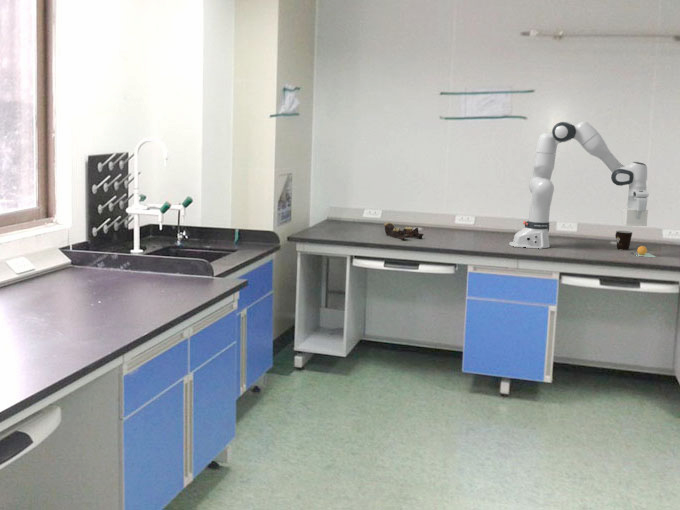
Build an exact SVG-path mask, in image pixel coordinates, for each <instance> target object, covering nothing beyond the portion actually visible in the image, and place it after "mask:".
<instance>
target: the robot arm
mask: <svg viewBox="0 0 680 510" xmlns="http://www.w3.org/2000/svg"><path fill="white" fill-rule="evenodd" d="M573 139H574V140H576V142H577V143H579V145H580V146H581V147H582V148H583V149H584V150H585V151H586V152H587V153H588V154H589V155H591V156H593V157H595V158H597V159H600V160H601V161H602V162H603V163H604V164H605V166H606V167H607V168H608V170H610V172H611V174H610V175H611V177H610V178H611V181H612V183H613V184H614V185H616V186H617V187H618V186H621V187H622V186H625V185H626V186H627V185H628V195H627V203H626V206H627V208H631V209H634V210H637V215H636V219H640V216H641V213H642V211H645V210H647V205H648V198H649V192H648V191H647V181H648V167H647V164H645V163H643V162H639V161H632V162H631V163H629V164H627V165H623V164H621V162H620V161H619V160H618V158H616V156H615V155H614V154H613V153H612V152H611V150H610V149H609V148H608V146H607V145H608V144H607V143H606V141H605V140H604V138H603V137H602V135H601V133H600V132H598V130H597V129H596V128H595V127H594V126H593V125H592V124H590V123H589V122H588V121H583V120H582V121H581V122H580V121H579V122H578V123H577V124H572V123H570V122H568V121H560V122H557V123H556V124H555V125H554V126H553V128H552V130H551V132H544V133H541V134H540V135H539V137H538V140H537V143H536V146H535V147H536V148H535V154H534V161H533V167H532V172H531V176H530V181H529V185H528V189H529V191H530V193H531V194H532V197H531V201H530V202H531V203H530V205H529V214H528V220H527V221H525V220H523V222H522V224H523V225H524V227H523V228H521V229H520V230H519V231H517V232H516V233H515V234H514V236H513V241H509V243H508V244H509V246H510V247H513V246H514V247H515V248H523V247H526V249H538V248H539V249H541V250H542V249H546V248H550V247H551V246H550V241H549V231H550V210H551V206H552V205H551V204H552V199H553V195H554V192H555V188H554V187H555V186H554V184H553V182H552V181H551V178H552V175H553V171H554V170H555V169H554V168H555V164H556V163H555V161H556V156H557V155H556V154H557V147H558V144H560V143H566V142H568V141H571V140H573Z"/></svg>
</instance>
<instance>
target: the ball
mask: <svg viewBox="0 0 680 510" xmlns="http://www.w3.org/2000/svg"><path fill="white" fill-rule="evenodd" d="M647 252H648V249H647V247H646V246H644V245H641V246H638V248H637V251H636V253H638V254H640V255H645V254H646V253H647Z"/></svg>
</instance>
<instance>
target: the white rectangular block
mask: <svg viewBox="0 0 680 510" xmlns="http://www.w3.org/2000/svg"><path fill="white" fill-rule="evenodd" d="M648 213H649V210H648V209H646V210H645V211H642V213H641V216H640V219H636V215H637V210H634V209H631V208H628V207H627V208H626V207H624V208H623V210H622V222H621V224H622V225H624V226H627V227H629V226H630V227H632V226H636V227H647V225H648V215H649V214H648Z"/></svg>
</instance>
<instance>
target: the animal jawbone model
mask: <svg viewBox="0 0 680 510" xmlns="http://www.w3.org/2000/svg"><path fill="white" fill-rule="evenodd" d="M384 232H385V234H386V236H387V237H393V238H395V239H401V241H402V242H403V241H405V238H406V239H409V238H417V239H420V240H421V239H423V236H424V235H425V234H423V233H420V232H419V227H415V228H414V229H413V227H411V226H406V227H404V229H402V230H401V229H400V227H399V228H398V227H395V226H394V222H393V221H389V222H384Z"/></svg>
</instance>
